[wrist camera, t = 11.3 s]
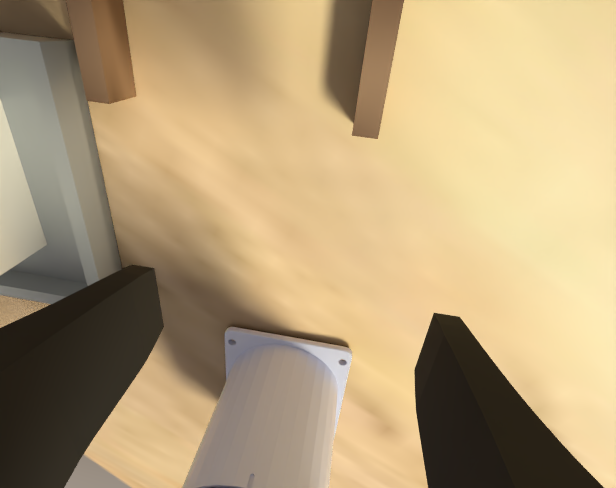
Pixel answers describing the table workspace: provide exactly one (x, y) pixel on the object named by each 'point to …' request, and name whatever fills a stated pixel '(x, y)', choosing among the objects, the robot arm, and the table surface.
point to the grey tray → (56, 169)
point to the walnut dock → (119, 75)
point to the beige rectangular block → (15, 206)
